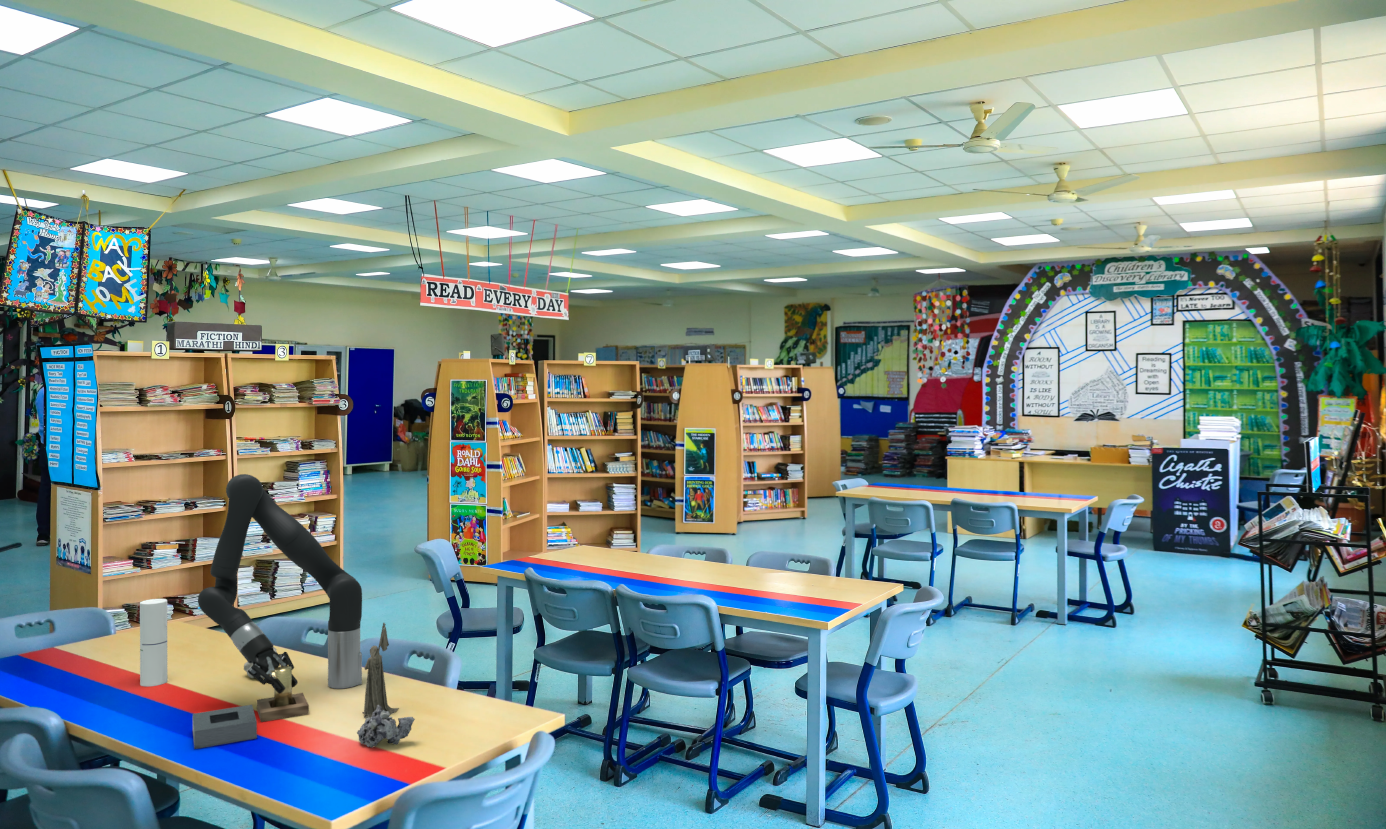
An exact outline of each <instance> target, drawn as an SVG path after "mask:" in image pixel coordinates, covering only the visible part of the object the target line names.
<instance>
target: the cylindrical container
mask: <svg viewBox="0 0 1386 829" xmlns="http://www.w3.org/2000/svg"><path fill="white" fill-rule="evenodd" d="M139 661H140V662H139V675H140V676H139V680H140V682H139V685H140V686H141V687H155V686H160V685H164V684H166V683H168V599H166V598H151V599H146V600H145V599H144V600H143V601H140V602H139Z"/></svg>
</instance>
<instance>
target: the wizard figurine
mask: <svg viewBox="0 0 1386 829" xmlns="http://www.w3.org/2000/svg"><path fill="white" fill-rule="evenodd" d="M381 628H382V629H381V633H380V636H379V637H380V638H379V642H378V646H377V645H372V646H371V647H370V649H369V654H370V657H368V658H367V660H366V663H365V666H364V670H365V671H366V670H367V675H366V676H367V677H366V684H365V695H364V703H363V704H364V706H363V711H362V714H364V715H363V719H366V718H368V717H372V714H373V712H374V711H375V710H376V708H377V705H380V706H381V707H382V710H384V711H386V712H387V711H389V714H390V716H391V715H393V714H395V713H396V712H397V711H398V709H400V708H399V707H391V706H389V704H388V697H387V691H386V690H387V688H386V682H385V681H386V680H385V673H384V672H385V671H384V664H383V655H381V654H380V650H382V652H386V651H388V647H389V646H390V643H389V639H388V631H387V627H386V622H383V623H382V627H381ZM380 648H381V649H380Z"/></svg>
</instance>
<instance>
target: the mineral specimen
mask: <svg viewBox="0 0 1386 829" xmlns="http://www.w3.org/2000/svg"><path fill="white" fill-rule="evenodd" d="M364 719H365V720H364V723H363V724H361V726H360V728H359V729H358V730H357V732H356V734H357V736H358V742H360V744H361V745H363V746H366V747H370V748H374V747H377V745H378V743H380V742H381V741H383V740H384V739H385V740H386V739H387V741H386V743H387V744H388V745H391V744H392V745H397V746H398V745H399V744H400V741H401V740H402V739H405V738H407V737H408V736H409V734H410V733H411V731H412V726H413V724H414V721H415V720H416V718H415V717H413V716H406V717H398V718H397V720H398V724H397V721H396V719H395V718H393V716H391V715H390V714H389V711H387V712H386V711H384V710H382V707H381V706H380V705H377V708H376V710H375V711H374V712H373V714H372V717H367V718H364Z"/></svg>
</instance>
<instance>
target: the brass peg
mask: <svg viewBox="0 0 1386 829" xmlns="http://www.w3.org/2000/svg"><path fill="white" fill-rule="evenodd" d="M292 671H293V670H292V667H290V666H279V667H277V668H275V670H274V673H275V675H276V677H277V678H278V679H279V680H280V682H281V683H282V684H283V685H284V687H285V690H284V691H283V692H282V693H280V694H279V693H278V692H277V691H276V690H275V689H274V688H273V694H274V695H273V697H274V707H281V706H287V705H292V694H293V688H292V674H293V672H292ZM277 678H276V679H277Z"/></svg>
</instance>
